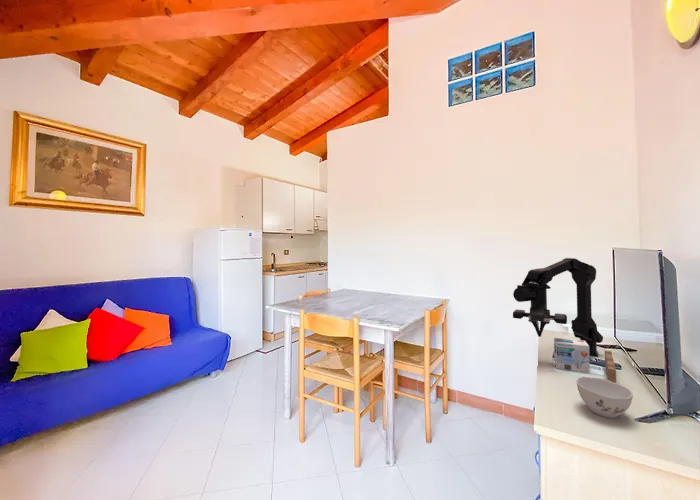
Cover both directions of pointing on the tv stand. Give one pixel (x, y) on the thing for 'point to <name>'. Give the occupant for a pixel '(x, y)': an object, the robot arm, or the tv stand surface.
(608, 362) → the walnut plank
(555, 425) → the tv stand surface
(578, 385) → the white floral bowl
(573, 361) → the light bulb box
